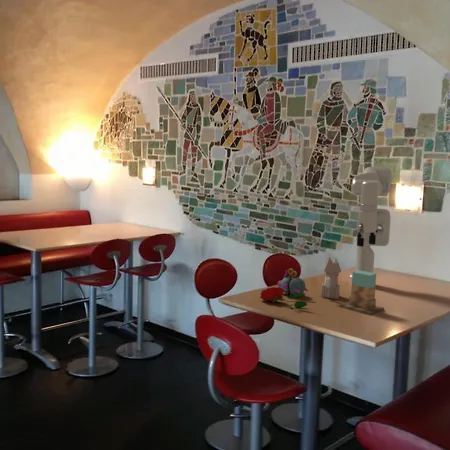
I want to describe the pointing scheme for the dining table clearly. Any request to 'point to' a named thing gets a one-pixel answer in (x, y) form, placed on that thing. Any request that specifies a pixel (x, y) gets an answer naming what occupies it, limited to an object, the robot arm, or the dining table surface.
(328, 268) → the toy
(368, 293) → the tan block
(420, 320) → the dining table surface
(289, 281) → the toy
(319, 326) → the dining table surface
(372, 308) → the pedestal board
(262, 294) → the flower
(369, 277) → the teal brick
